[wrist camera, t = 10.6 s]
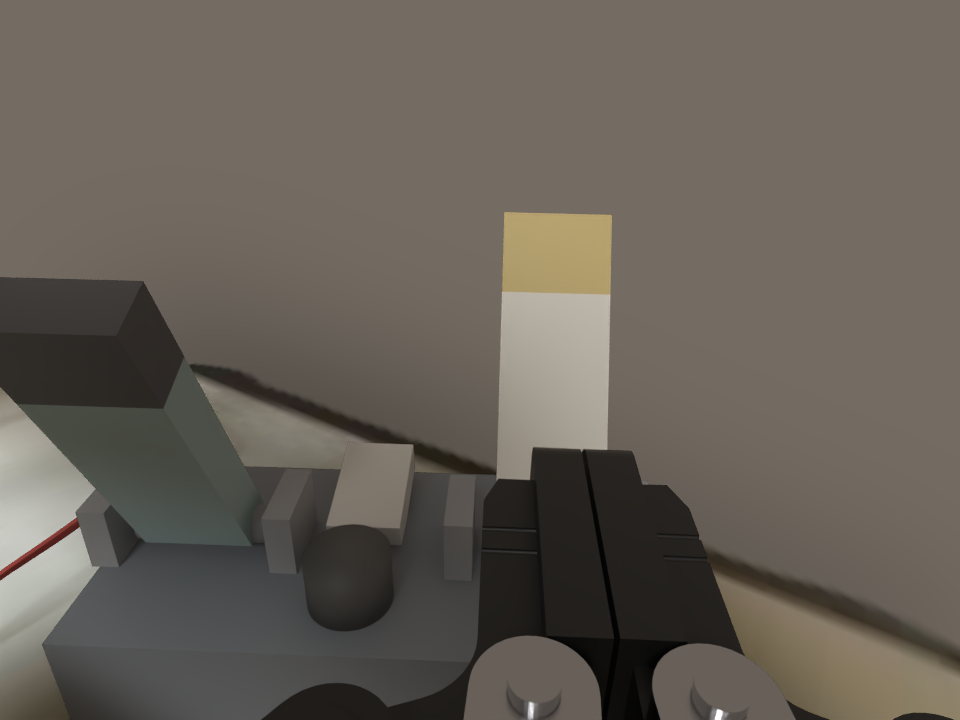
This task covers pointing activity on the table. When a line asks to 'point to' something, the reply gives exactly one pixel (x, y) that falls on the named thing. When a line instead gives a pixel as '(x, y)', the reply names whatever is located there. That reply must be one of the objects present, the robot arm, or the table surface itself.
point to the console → (281, 597)
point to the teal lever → (125, 408)
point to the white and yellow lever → (553, 336)
